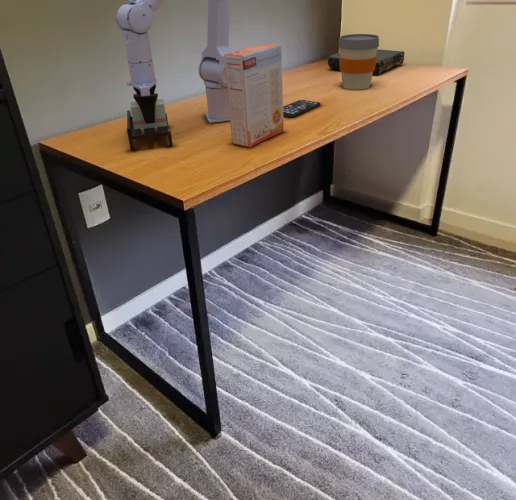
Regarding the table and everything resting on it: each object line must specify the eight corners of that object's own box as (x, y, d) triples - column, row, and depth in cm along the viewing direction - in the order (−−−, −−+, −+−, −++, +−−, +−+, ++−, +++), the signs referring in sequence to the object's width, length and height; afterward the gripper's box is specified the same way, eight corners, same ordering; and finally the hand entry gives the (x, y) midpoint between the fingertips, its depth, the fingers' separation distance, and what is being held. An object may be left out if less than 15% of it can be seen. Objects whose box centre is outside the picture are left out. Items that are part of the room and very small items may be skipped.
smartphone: (321, 102, 143) (292, 115, 133) (321, 105, 143) (292, 117, 134) (300, 99, 147) (270, 111, 137) (300, 101, 147) (270, 113, 138)
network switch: (384, 76, 170) (386, 61, 167) (323, 71, 181) (324, 57, 178) (405, 63, 187) (407, 49, 184) (348, 59, 198) (349, 46, 195)
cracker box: (266, 128, 127) (262, 42, 116) (284, 132, 124) (283, 44, 113) (230, 144, 118) (223, 52, 107) (249, 148, 115) (243, 54, 104)
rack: (168, 126, 132) (165, 106, 129) (172, 146, 118) (169, 124, 115) (130, 131, 130) (126, 110, 128) (131, 151, 117) (126, 129, 114)
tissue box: (166, 120, 125) (162, 95, 122) (167, 126, 121) (163, 100, 118) (134, 123, 124) (129, 98, 121) (134, 129, 120) (129, 104, 117)
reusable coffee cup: (329, 86, 162) (330, 37, 154) (355, 79, 168) (358, 32, 160) (356, 93, 153) (360, 41, 145) (383, 85, 159) (388, 36, 151)
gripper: (123, 57, 120) (133, 112, 127) (122, 68, 108) (133, 129, 115) (152, 54, 121) (160, 109, 128) (154, 65, 109) (163, 125, 116)
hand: (149, 118), depth 122 cm, fingers open, 7 cm apart
